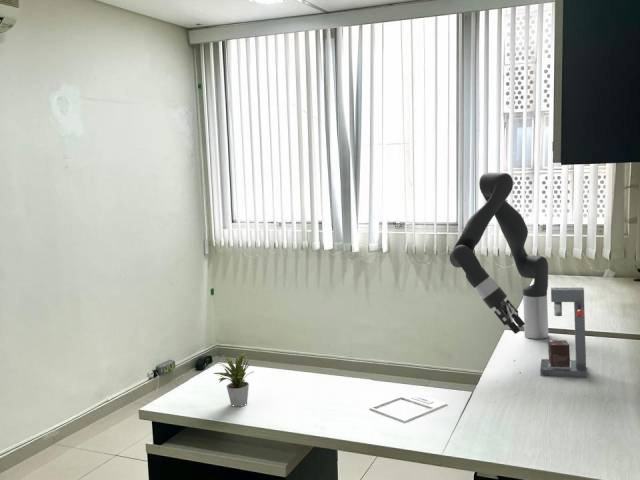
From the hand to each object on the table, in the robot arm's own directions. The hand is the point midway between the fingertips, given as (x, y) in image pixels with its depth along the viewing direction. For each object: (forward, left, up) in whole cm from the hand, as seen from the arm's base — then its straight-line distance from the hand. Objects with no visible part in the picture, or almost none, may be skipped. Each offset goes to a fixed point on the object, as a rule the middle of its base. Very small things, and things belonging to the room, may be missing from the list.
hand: (520, 329), depth 212 cm
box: (+6, +12, -10) cm, 17 cm away
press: (+8, +14, -13) cm, 20 cm away
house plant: (+55, -83, -13) cm, 100 cm away
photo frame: (+48, -30, -13) cm, 58 cm away
